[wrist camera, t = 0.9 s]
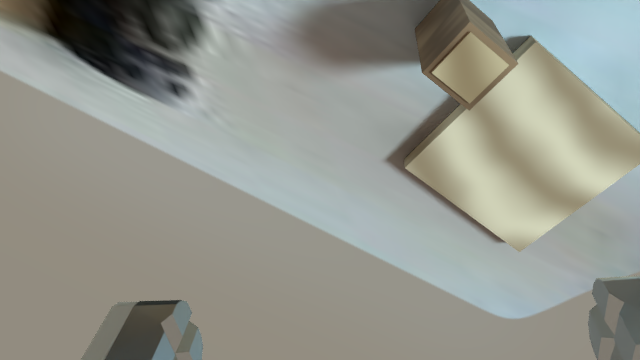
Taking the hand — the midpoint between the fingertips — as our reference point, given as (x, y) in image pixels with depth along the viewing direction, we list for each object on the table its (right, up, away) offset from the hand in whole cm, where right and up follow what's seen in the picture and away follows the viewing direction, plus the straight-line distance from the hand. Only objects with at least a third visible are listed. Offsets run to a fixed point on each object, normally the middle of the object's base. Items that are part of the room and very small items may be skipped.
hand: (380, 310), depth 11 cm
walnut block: (+9, +14, +28) cm, 33 cm away
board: (+16, +5, +33) cm, 37 cm away
